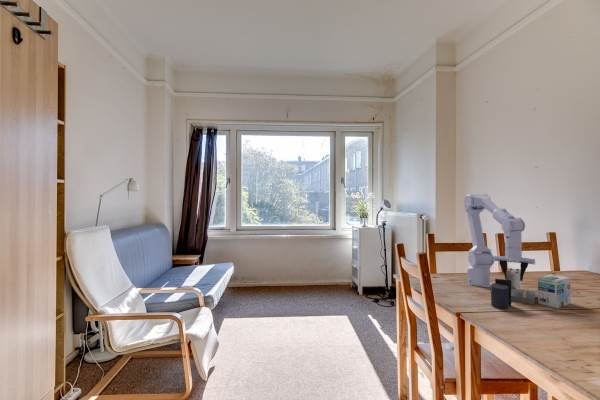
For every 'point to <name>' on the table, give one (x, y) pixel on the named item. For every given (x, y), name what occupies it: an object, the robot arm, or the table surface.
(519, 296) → the stand
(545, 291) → the light bulb box
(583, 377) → the table surface
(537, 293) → the mat
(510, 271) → the block
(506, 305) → the speaker
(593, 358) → the table surface
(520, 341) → the table surface
